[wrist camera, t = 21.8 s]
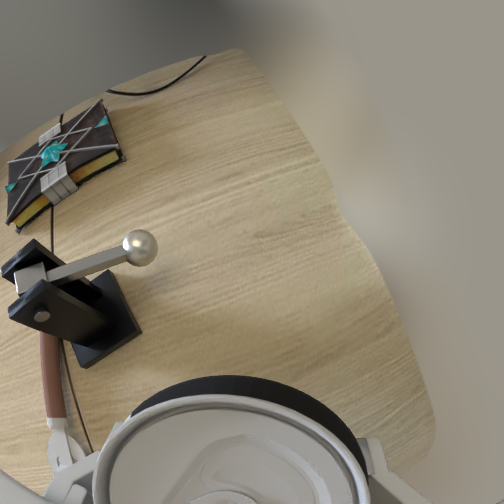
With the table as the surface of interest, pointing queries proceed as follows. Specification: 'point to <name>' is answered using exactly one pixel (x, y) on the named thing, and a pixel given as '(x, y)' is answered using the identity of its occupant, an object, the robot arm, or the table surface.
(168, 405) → the beverage can
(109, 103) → the table surface
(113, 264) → the lever
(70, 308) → the black lever stand
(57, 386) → the pizza cutter
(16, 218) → the book
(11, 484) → the robot arm
